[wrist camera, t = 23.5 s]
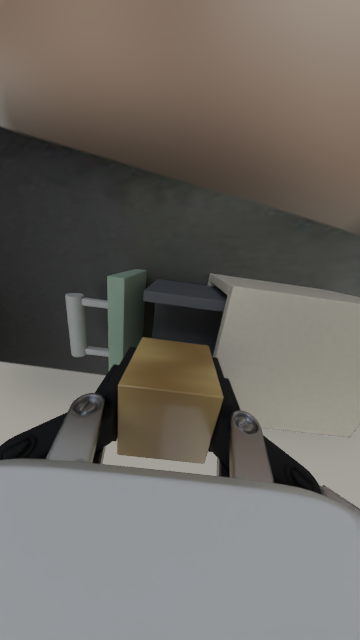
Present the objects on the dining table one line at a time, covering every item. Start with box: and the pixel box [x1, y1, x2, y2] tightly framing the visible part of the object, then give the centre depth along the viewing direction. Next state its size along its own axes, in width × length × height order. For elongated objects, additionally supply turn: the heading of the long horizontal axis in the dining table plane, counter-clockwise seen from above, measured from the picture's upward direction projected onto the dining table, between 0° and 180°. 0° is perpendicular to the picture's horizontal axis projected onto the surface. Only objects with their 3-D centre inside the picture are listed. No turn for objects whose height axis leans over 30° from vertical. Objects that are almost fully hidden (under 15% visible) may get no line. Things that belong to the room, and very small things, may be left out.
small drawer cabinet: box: [207, 273, 360, 438], centre depth 17 cm, size 14×12×10 cm
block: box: [117, 337, 224, 464], centre depth 10 cm, size 4×4×4 cm
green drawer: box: [65, 269, 227, 371], centre depth 17 cm, size 18×11×8 cm, turn 82°
